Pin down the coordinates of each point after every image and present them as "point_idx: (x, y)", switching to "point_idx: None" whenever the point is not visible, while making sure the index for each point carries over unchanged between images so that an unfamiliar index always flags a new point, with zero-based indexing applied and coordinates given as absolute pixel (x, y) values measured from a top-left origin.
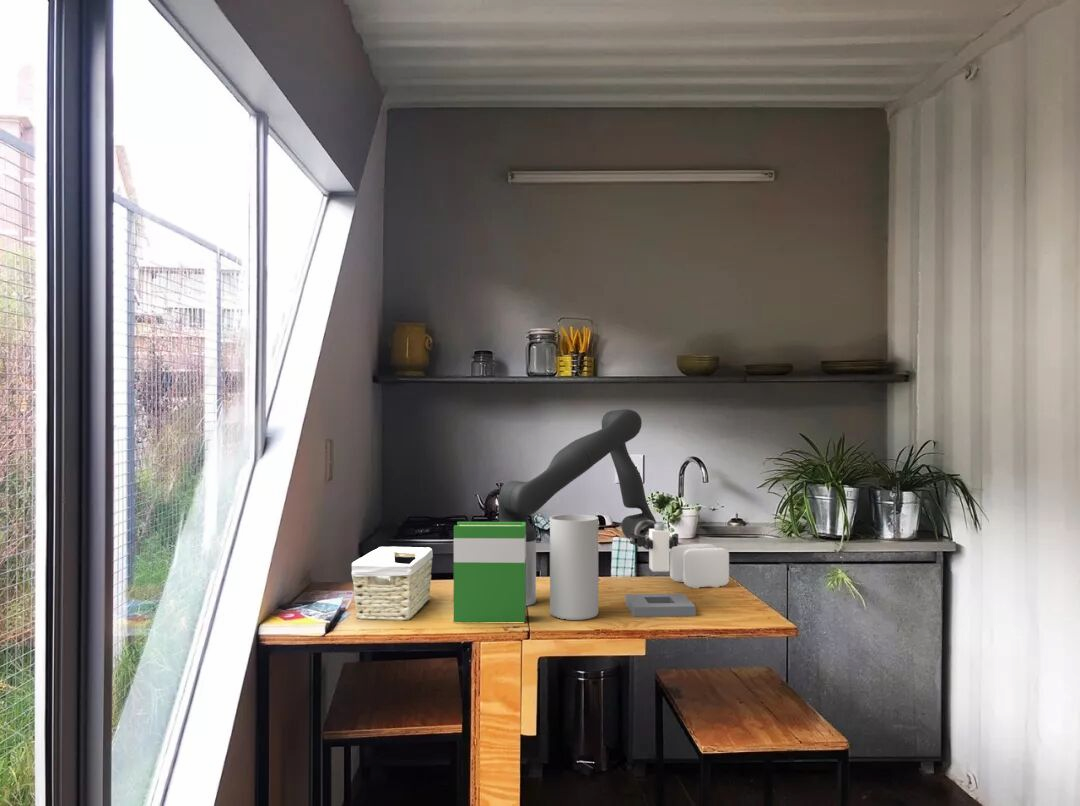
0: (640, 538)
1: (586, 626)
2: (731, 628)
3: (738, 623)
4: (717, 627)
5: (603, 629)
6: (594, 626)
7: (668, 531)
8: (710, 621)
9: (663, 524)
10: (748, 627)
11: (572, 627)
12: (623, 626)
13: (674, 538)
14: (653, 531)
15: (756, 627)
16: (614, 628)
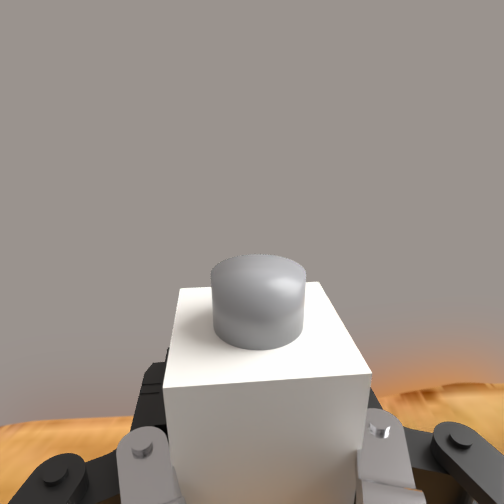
0: (442, 429)
1: (470, 417)
2: (82, 419)
3: (25, 465)
4: (115, 425)
5: (414, 397)
6: (449, 418)
7: (186, 290)
8: None
9: (214, 267)
10: (28, 430)
11: (501, 408)
12: None
13: (81, 463)
14: (308, 282)
15: (5, 431)
16: (390, 405)
